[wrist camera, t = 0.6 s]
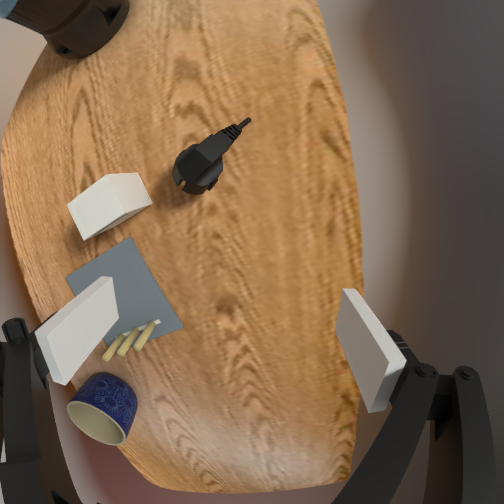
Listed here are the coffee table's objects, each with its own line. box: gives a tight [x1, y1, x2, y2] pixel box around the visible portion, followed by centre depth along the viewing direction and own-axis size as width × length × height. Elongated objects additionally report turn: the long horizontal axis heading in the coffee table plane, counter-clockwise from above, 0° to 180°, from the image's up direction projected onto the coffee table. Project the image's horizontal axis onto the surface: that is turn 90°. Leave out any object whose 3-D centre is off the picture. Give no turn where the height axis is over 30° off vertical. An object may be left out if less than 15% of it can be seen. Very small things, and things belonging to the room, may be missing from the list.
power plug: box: [172, 118, 251, 195], centre depth 34 cm, size 6×8×12 cm
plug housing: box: [67, 173, 153, 240], centre depth 33 cm, size 5×7×9 cm
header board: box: [66, 237, 184, 362], centre depth 38 cm, size 16×16×7 cm
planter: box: [67, 373, 138, 445], centre depth 42 cm, size 12×12×11 cm
